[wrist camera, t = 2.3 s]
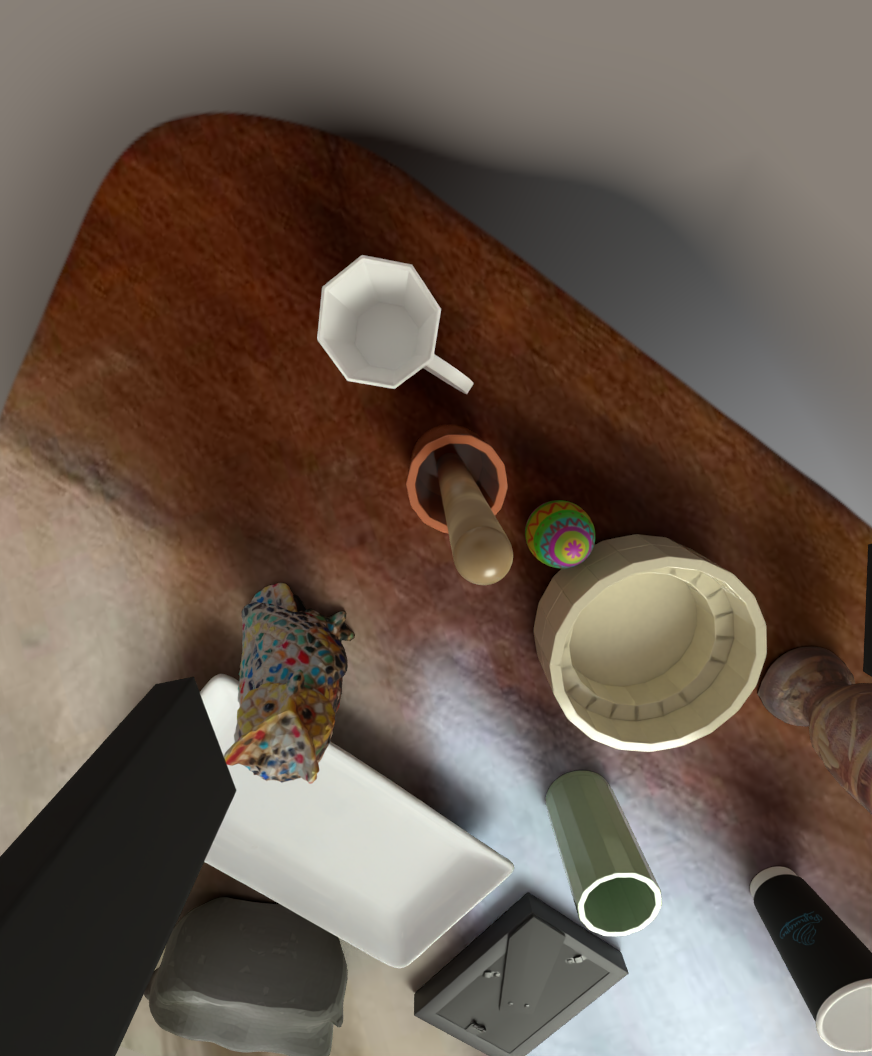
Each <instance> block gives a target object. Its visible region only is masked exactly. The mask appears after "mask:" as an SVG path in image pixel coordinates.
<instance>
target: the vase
mask: <svg viewBox="0 0 872 1056" xmlns="http://www.w3.org/2000/svg"><path fill="white" fill-rule="evenodd" d="M546 807H547V810H548V816H549V819H550V822H551V826H552V829H553V833H554V836H555V839H556V843H557V846H558V849H559V853H560V856H561V859H562V863H563V866H564V869H565V873H566V876H567V880H568V883H569V886H570V890H571V893H572V896H573V900H574V903H575V906H576V910H577V913H578V916H579V919H580V920H581V922H582V923H583V924H584V925H585V926H586V927H587V928H588V929H589V930H590V931H593V932H595V933H598V934H601V935H603V936H625V935H628V934H631V933H634V932H637V931H640V930H642V929H643V928H644V927H646V926H647V925H648V924H649V923H651V922H652V921H653V920H654V919H655V918H656V916H657V914H658V912H659V910H660V908H661V906H662V900H661V890H660V888H659V886H658V884H657V882H656V880H655V878H654V876H653V873H652V871H651V869H650V867H649V865H648V863H647V861H646V859H645V857H644V855H643V852H642V850H641V848H640V846H639V844H638V842H637V840H636V838H635V836H634V834H633V832H632V829H631V827H630V825H629V823H628V821H627V819H626V817H625V815H624V813H623V811H622V808H621V806H620V804H619V802H618V800H617V798H616V796H615V794H614V792H613V790H612V789H611V787H610V785H609V783H608V782H607V781H606V780H605V779H604V778H603V777H602V776H600V775H599V774H597V773H594V772H591V771H584V770H580V771H573V772H569V773H566V774H564V775H562V776H561V777H559V778H558V779H556V780H555V781H554V782H553V783H552V785H551V786H550V787H549V789H548V791H547V794H546Z"/></svg>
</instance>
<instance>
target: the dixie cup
mask: <svg viewBox="0 0 872 1056" xmlns="http://www.w3.org/2000/svg"><path fill="white" fill-rule="evenodd" d="M750 893H751V895H752V897H753V899H754V905H755V907H756V909H757V911H758V913H759V915H760V917H761V919H762V921H763V922H764V924H765V926H766V928H767V930H768V932H769V934H770V936H771V938H772V940H773V941H774V943H775V945H776V947H777V949H778V951H779V953H780V955H781V957H782V959H783V961H784V962H785V964H786V966H787V968H788V970H789V972H790V974H791V976H792V978H793V980H794V981H795V983H796V985H797V987H798V989H799V991H800V993H801V995H802V997H803V999H804V1001H805V1002H806V1004H807V1006H808V1008H809V1010H810V1012H811V1014H812V1016H813V1018H814V1020H815V1021H816V1028H817V1031H818V1034H819V1036H820V1037H821V1038H822V1040H823V1041H824V1042H825V1043H827V1044H828V1045H829V1046H831V1047H833V1048H836V1049H838V1050H842V1051H847V1052H863V1051H869V1050H872V953H871V952H870V950H869V949H868V948H867V947H866V946H865V945H864V944H863V943H862V942H861V941H860V940H859V939H858V938H857V936H856V935H855V934H854V933H853V932H852V931H851V930H850V929H849V928H848V927H847V926H846V925H845V924H844V923H843V921H842V920H841V919H840V918H839V917H838V916H837V915H836V914H835V913H834V912H833V911H832V910H831V909H830V907H829V906H828V905H827V904H826V903H825V902H824V901H823V900H822V899H821V898H820V897H819V896H818V895H817V893H816V892H815V891H814V890H813V889H812V888H811V887H810V886H809V885H808V884H807V883H806V882H805V881H804V880H803V879H802V878H800V877H798V876H797V875H796V874H795V873H794V872H793V871H792V870H790V869H789V868H786V867H780V866H779V867H771V868H768V869H765V870H763V871H761V872H760V873H758V874H757V875H756V876H755V877H754V879H753V880H752V882H751V885H750Z"/></svg>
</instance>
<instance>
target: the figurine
mask: <svg viewBox="0 0 872 1056" xmlns="http://www.w3.org/2000/svg"><path fill="white" fill-rule="evenodd" d="M242 619H243V625H242V629H243V639H242V644H243V650H242V660H241V664H240V668H241V669H240V673H239V675H240V679H239V686H238V702H239V704H240V707H239V709H238V710H237V725H236V732H235V734H234V740H235V743H234V744H233V745H232V746H231V747H230V748H229V749H228V750H227V751H226V752H225V754H224V758H225V761H226V764H227V765H230V766H233V765H236V764H241V765H243V766H245V767H246V768H248V769H249V771H251V772H253V774H254V775H258V776H259V777H261V778H262V779H264V780H266V781H268V780H275V781H280V782H281V783H282V782H286V781H290V780H295V779H298V778H302V779H303V780H305V781H308V783H309V784H311V783H313V782H314V781H315V780H316V779H317V773H318V772H319V764H318V763H319V762H320V760H321V759H322V757H323V755H324V753H325V750H326V749H327V747H328V745H329V743H330V739H331V736H332V734H333V731H332V729H333V727H334V723H335V713H336V712H337V711H338V709H339V705H340V699H341V694H342V677H343V676H344V675H345V673H346V671H347V667H348V665H347V657H346V653H345V649H344V647H343V645H342V644H341V641H342V640H345V641H351V640H352V639H353V638H354V637H355V634H354V633H353V632H351V631H349V629H348V628H347V626H346V624H345V619H346V612H344V611H342V612H338V613H336V614H334V615H332V616H331V617H325V616H323V615H321V614H319V613H318V612H316V611H314V610H312V609H308V610H306V609H305V607H304V605H303V603H302V601H301V600H300V598H299V597H298V596H297V595H293V594H292V592H291V590H290V588H289V586H288V585H286V584H284V583H277V584H272V585H269V586H266V587H265V588H263V589H262V590H261V591H259V592H258V593H256V594H255V595H254V597H253V599H252V601H251V603H250V604H248V605H246V606H245V607H244V609H243V610H242Z"/></svg>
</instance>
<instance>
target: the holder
mask: <svg viewBox="0 0 872 1056" xmlns="http://www.w3.org/2000/svg"><path fill="white" fill-rule="evenodd" d="M446 453H455V454H457V455H458V456H460V457H461V459H462V460H463V462H464V464H465V465H466V467H467V469H468V471H469V472H470V474H471V476H472V477H473V479H474V481H475V483H476V484H477V486H478V488H479V489H480V491H481V493H482V495H483V496H484V498H485V500H486V501H487V503H488V505H489V507H490V508H491V510H492V512H493V514H494V515H496V514H497V513H498V511H499V510H500V509H501V507H502V505H503V502H504V498H505V495H506V492H507V488H508V487H507V486H508V484H507V477H506V471H505V465H504V463H503V462H502V460H501V459H500V458H499V456H498V455H497V453H496V452H495V451H494V449H493V448H492V447H491V446H490V445H489V444H488V443H487V442H485V441H484V440H483V439H482V438H480V437H479V436H478V435H477V434H475V433H474V432H472V431H470V430H468V429H467V428H464V427H462V426H460V425H440V426H437V427H435V428H432V429H430V430H429V431H427V432H426V433H424V434H423V435H422V436H421V437H420V439H419V440H418V441H417V443H416V444H415V445H414V447H413V451H412V455H411V459H410V463H409V469H408V475H407V481H406V487H407V491H408V496H409V501H410V505H411V507H412V508H413V510H414V511H415V512H416V513H417V515H418V516H419V517H420V518H421V520H422V521H423V522H424V523H425V524H427V525H429V526H431V527H433V528H435V529H437V530H439V531H441V532H443V533H449V532H448V527H447V522H446V517H445V511H444V506H443V501H442V495H441V490H440V485H439V479H438V474H437V468H436V465H437V461H438V459H439V458H440V457H441V456H442V455H444V454H446Z"/></svg>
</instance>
